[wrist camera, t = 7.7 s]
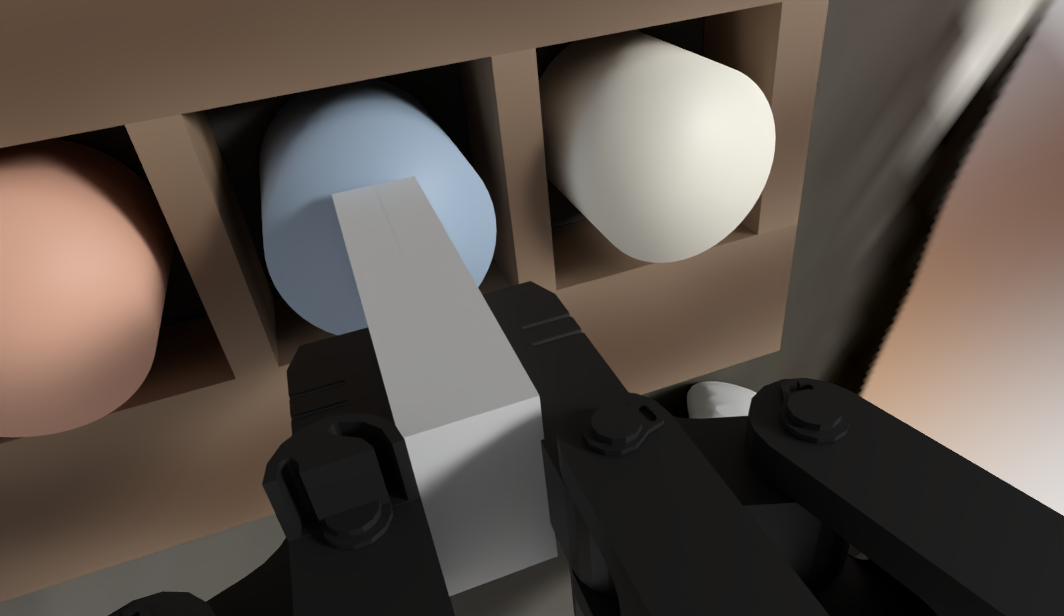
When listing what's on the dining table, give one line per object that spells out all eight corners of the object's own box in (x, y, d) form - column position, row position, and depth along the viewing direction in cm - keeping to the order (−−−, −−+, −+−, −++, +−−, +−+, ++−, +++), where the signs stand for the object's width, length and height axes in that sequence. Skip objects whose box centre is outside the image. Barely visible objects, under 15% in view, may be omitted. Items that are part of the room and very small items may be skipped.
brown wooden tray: (-471, -122, 10) (-694, -120, 8) (764, -236, 15) (864, -257, 12) (20, 508, 18) (-14, 606, 15) (722, 300, 23) (779, 350, 20)
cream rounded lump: (518, 44, 16) (587, 86, 13) (685, 14, 17) (786, 45, 14) (535, 213, 19) (596, 283, 15) (679, 177, 20) (764, 237, 16)
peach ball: (-122, 162, 13) (-240, 256, 10) (124, 117, 14) (90, 187, 11) (-1, 345, 16) (-63, 467, 12) (202, 295, 17) (193, 395, 13)
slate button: (231, 97, 15) (228, 159, 11) (431, 60, 16) (480, 108, 12) (291, 273, 17) (302, 365, 14) (461, 231, 18) (508, 308, 15)
